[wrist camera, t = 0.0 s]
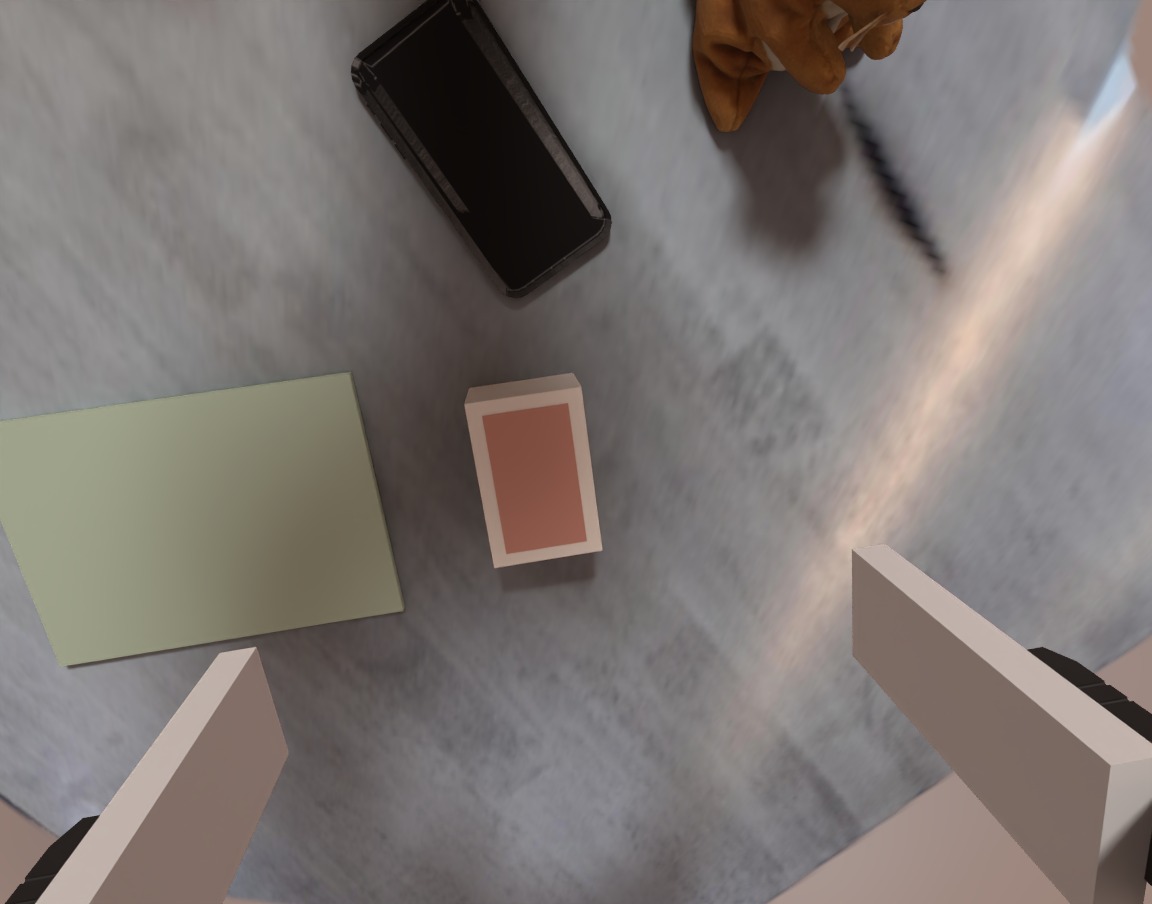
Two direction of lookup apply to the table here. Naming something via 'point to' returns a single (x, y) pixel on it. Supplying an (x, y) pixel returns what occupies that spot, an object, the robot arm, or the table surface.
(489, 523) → the card box
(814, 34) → the stuffed squirrel
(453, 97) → the phone
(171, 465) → the mat
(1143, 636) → the table surface
